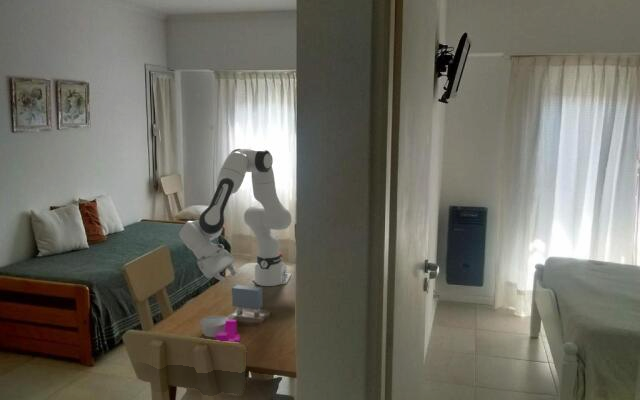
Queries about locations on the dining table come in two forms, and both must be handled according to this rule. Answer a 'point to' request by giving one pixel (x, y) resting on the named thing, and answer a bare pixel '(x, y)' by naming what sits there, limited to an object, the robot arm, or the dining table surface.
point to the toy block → (229, 332)
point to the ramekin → (213, 325)
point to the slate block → (247, 297)
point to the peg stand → (250, 316)
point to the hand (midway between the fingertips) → (229, 277)
